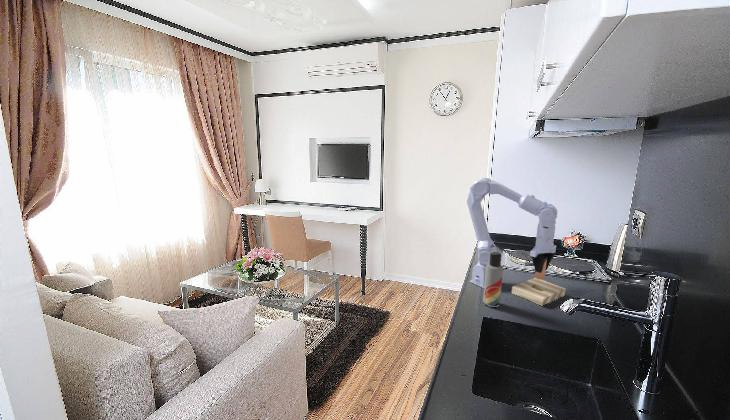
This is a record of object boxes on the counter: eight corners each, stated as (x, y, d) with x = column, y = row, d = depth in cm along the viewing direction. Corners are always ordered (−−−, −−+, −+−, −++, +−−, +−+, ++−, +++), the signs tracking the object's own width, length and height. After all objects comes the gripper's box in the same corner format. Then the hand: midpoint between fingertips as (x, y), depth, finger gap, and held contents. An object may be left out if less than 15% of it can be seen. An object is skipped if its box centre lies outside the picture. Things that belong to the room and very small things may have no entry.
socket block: (542, 306, 113) (543, 299, 112) (511, 293, 123) (512, 286, 122) (564, 295, 121) (565, 288, 121) (534, 284, 131) (535, 277, 131)
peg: (541, 280, 119) (543, 260, 117) (533, 277, 122) (535, 257, 120) (546, 278, 120) (548, 258, 119) (538, 275, 123) (540, 256, 121)
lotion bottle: (496, 310, 111) (501, 256, 107) (480, 304, 114) (484, 253, 110) (501, 304, 115) (506, 252, 111) (486, 299, 119) (490, 249, 115)
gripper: (545, 243, 110) (540, 278, 113) (566, 236, 118) (561, 270, 121) (526, 237, 116) (522, 272, 119) (547, 232, 124) (543, 264, 126)
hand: (540, 270), depth 120 cm, fingers closed on peg, 3 cm apart
